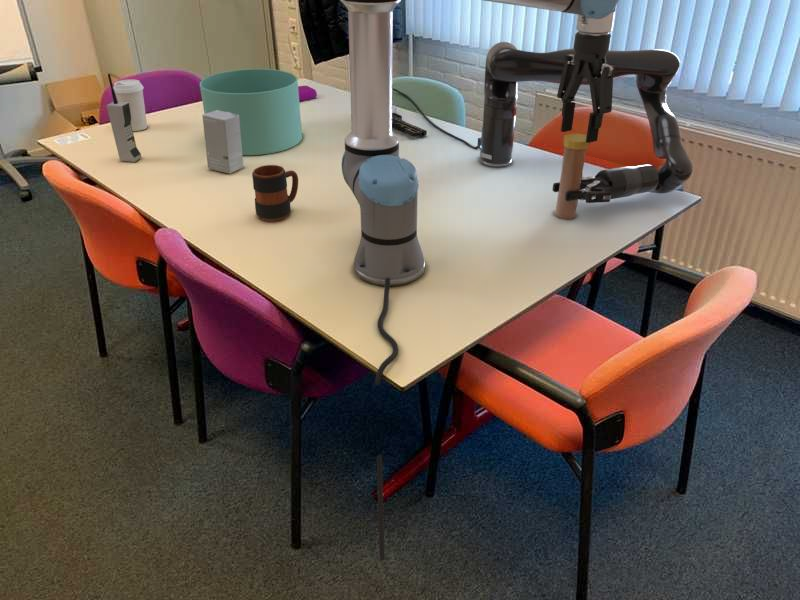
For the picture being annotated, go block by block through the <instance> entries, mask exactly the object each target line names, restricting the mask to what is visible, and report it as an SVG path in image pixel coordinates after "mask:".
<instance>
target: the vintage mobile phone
mask: <svg viewBox="0 0 800 600" xmlns="http://www.w3.org/2000/svg"><path fill="white" fill-rule="evenodd" d="M107 78H108V82H109V85H110V90H111V92H110V93H111V96H112V100H113V101H112V102H110V103H108V104H106V109H107V115H108V118H109V122H110V125H111V130H112V134H113V139H114V141H115V142H114V143H115V145H116V151H117V153H118V154H117V155H118V158H119V161H121V162H131V163H135V162H138V160H140V159H142V153H141V151H139V149H138V148H137V147H138V146H137V143H136V139H135V134H134V131H133V130H132V126H131V112H130V105H129V102H118V100H117V97H116V94H115V91H114V89H113V87H114V84H113V81H112V76H111V73H107Z"/></svg>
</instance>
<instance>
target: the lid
mask: <svg viewBox="0 0 800 600" xmlns="http://www.w3.org/2000/svg"><path fill="white" fill-rule="evenodd" d="M586 137H587V134H583V133H574V132H573V133H572V132H571V133H567V134H565V135H564V136H563V139H562V145H563V147H564V148H565V147H567V148H570V149H576V150H581V149H586V148H587V149H588V148H589V147H590V144H591V142H590V143H587V142H586ZM587 149H586V150H587Z"/></svg>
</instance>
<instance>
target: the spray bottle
mask: <svg viewBox="0 0 800 600" xmlns="http://www.w3.org/2000/svg"><path fill="white" fill-rule="evenodd" d="M298 92H299V102H302V101H308V100H312V99H316V98H317V96H318V92H317V90H316V89H315V88H313V87H311V86H308V85H298Z"/></svg>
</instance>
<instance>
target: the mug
mask: <svg viewBox="0 0 800 600" xmlns="http://www.w3.org/2000/svg"><path fill="white" fill-rule="evenodd" d="M251 175H252V176H251V177H252V186H253V190H254V195H255V196H254V206H255V207H254V209H255V215H256V216H257V217H258V218H259V219H260V220H262V221H265V222H279V221H282V220H285V219H286V218H288V217H289V215H290V214H291V212H292V207H291V203H292V202H294V200H295V198H296V197H297V194H298V189H299V176H298V174H297V172H296V171H294V170H287V171H286V170H285V168H284V167H283V166H281V165H277V164H267V165H261V166H258V167H256V168H254V169H253V171H252V174H251ZM290 177H291V181H292V182H291V188H290V189H291V190H290V194H288V188H287V187H288V182H287V180H288V179H287V178H290Z"/></svg>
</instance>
